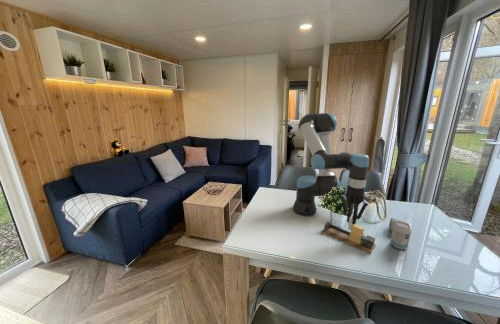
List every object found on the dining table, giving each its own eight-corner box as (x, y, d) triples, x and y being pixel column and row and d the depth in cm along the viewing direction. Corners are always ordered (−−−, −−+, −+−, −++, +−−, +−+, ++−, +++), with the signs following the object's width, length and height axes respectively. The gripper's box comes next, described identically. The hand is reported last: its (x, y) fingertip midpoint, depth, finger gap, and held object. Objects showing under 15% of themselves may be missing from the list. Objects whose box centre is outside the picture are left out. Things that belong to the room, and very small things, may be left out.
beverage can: (405, 243, 102) (409, 222, 99) (408, 252, 96) (414, 230, 93) (388, 240, 105) (392, 219, 102) (391, 248, 99) (395, 227, 96)
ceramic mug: (407, 238, 106) (410, 225, 104) (388, 233, 110) (390, 221, 108) (405, 228, 114) (408, 216, 112) (388, 224, 119) (390, 212, 117)
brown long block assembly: (322, 232, 112) (322, 223, 110) (328, 226, 117) (329, 218, 116) (370, 254, 95) (372, 244, 94) (375, 246, 101) (377, 236, 99)
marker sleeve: (349, 239, 103) (350, 226, 101) (352, 236, 106) (354, 222, 104) (359, 244, 100) (361, 230, 98) (362, 240, 103) (364, 226, 101)
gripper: (339, 184, 99) (334, 226, 106) (368, 192, 90) (361, 237, 97) (345, 180, 104) (340, 220, 111) (373, 187, 95) (366, 230, 102)
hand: (350, 228), depth 104 cm, fingers closed
